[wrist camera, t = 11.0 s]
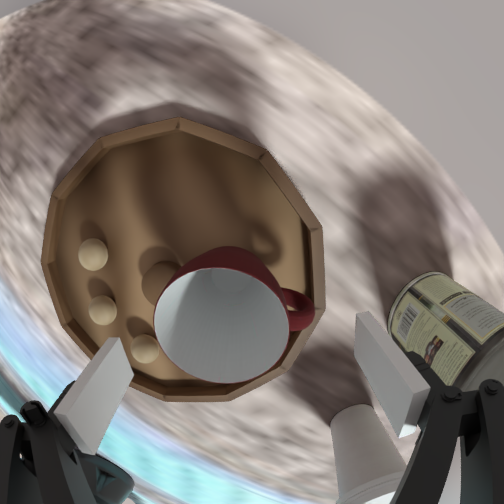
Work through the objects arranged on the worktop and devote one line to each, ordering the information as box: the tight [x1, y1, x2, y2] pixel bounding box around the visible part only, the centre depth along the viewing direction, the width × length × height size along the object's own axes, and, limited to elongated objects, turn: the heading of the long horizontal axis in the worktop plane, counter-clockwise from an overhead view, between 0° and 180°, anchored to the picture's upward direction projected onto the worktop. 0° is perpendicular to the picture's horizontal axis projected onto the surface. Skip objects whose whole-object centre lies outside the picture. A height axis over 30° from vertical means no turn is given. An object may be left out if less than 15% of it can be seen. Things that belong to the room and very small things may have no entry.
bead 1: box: [78, 238, 108, 271], centre depth 23 cm, size 3×3×3 cm
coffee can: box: [388, 272, 504, 392], centre depth 21 cm, size 10×10×14 cm
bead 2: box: [89, 295, 117, 325], centre depth 25 cm, size 3×3×3 cm
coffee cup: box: [330, 404, 407, 504], centre depth 25 cm, size 10×10×15 cm
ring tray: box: [41, 117, 326, 402], centre depth 25 cm, size 28×28×3 cm
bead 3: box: [131, 334, 159, 363], centre depth 26 cm, size 3×3×3 cm
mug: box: [153, 246, 315, 384], centre depth 21 cm, size 10×8×10 cm
